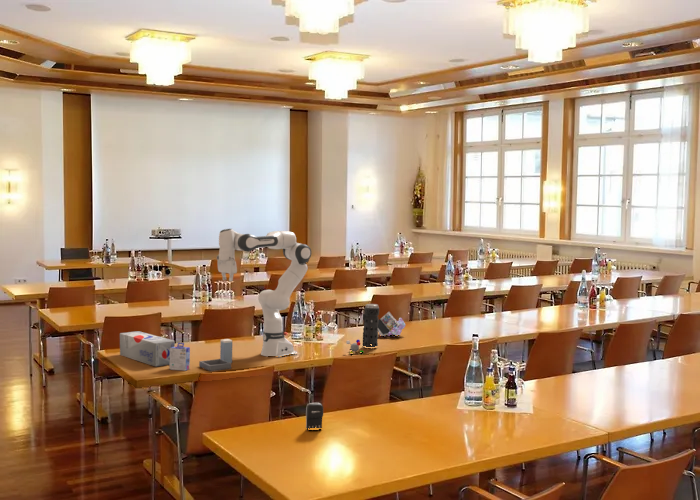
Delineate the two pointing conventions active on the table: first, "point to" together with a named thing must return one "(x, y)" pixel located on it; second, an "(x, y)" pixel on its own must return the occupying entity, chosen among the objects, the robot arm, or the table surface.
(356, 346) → the molecular model
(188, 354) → the ink cartridge box
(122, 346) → the soda pack
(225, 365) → the tray
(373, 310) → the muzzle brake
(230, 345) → the blue-grey rectangular block
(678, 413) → the table surface
